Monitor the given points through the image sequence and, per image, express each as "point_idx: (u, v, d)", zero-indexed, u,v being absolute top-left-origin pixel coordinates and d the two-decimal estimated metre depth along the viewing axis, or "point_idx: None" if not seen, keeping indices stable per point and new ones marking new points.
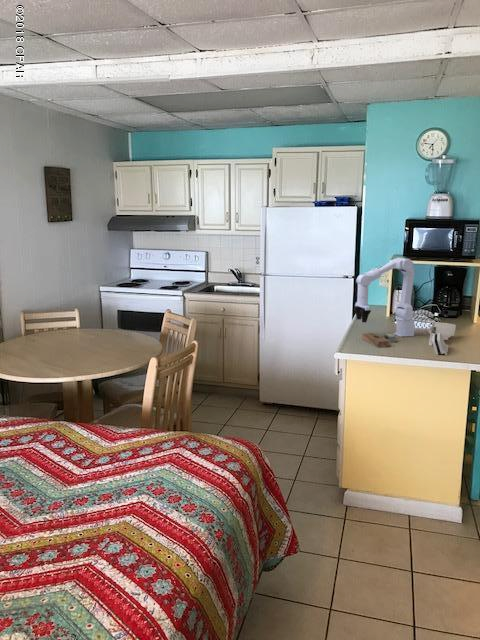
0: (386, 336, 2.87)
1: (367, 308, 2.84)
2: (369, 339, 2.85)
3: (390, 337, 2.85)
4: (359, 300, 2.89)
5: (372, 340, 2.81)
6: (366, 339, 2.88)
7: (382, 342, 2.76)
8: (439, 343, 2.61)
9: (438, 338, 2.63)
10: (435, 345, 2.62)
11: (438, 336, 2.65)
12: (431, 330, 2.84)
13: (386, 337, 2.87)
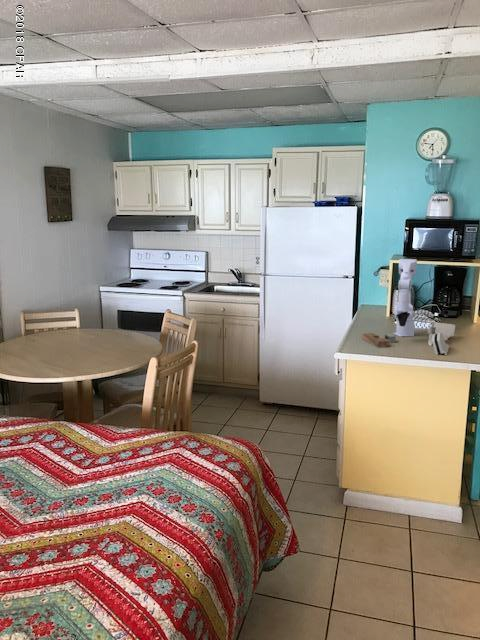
0: (386, 336, 2.87)
1: (395, 312, 2.81)
2: (369, 339, 2.85)
3: (390, 337, 2.85)
4: (398, 304, 2.86)
5: (372, 340, 2.81)
6: (366, 339, 2.88)
7: (382, 342, 2.76)
8: (439, 343, 2.62)
9: (438, 338, 2.63)
10: (435, 345, 2.63)
11: (438, 336, 2.65)
12: (430, 331, 2.84)
13: (386, 337, 2.87)
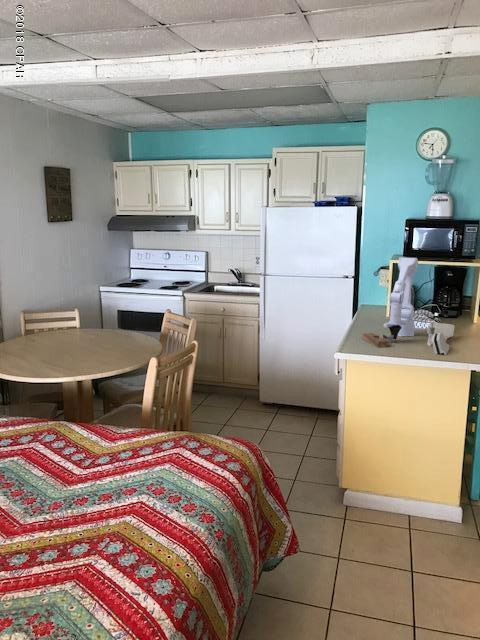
0: (384, 336, 2.87)
1: (384, 325, 2.83)
2: (369, 339, 2.85)
3: (388, 337, 2.85)
4: None
5: (372, 340, 2.81)
6: (366, 339, 2.88)
7: (382, 342, 2.76)
8: (438, 343, 2.62)
9: (438, 338, 2.64)
10: (434, 345, 2.63)
11: (438, 336, 2.65)
12: (430, 331, 2.83)
13: (384, 337, 2.87)
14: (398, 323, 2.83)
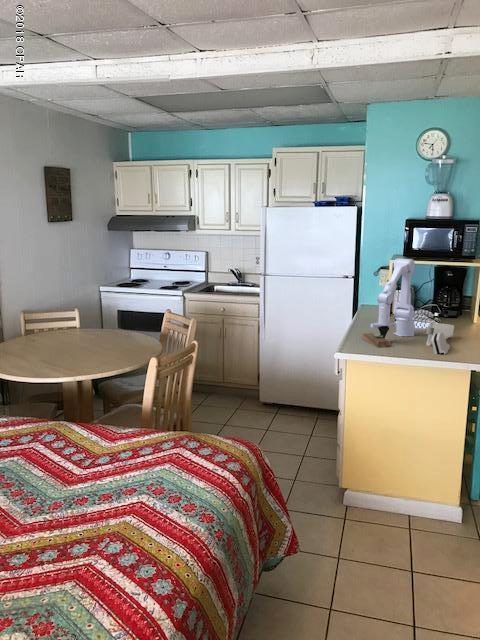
0: (373, 336, 2.85)
1: (371, 325, 2.82)
2: (369, 339, 2.85)
3: (377, 337, 2.84)
4: None
5: (372, 340, 2.81)
6: (366, 339, 2.88)
7: (382, 342, 2.76)
8: (438, 342, 2.63)
9: (437, 337, 2.64)
10: (434, 344, 2.64)
11: (438, 335, 2.66)
12: (429, 331, 2.83)
13: None
14: (385, 324, 2.81)
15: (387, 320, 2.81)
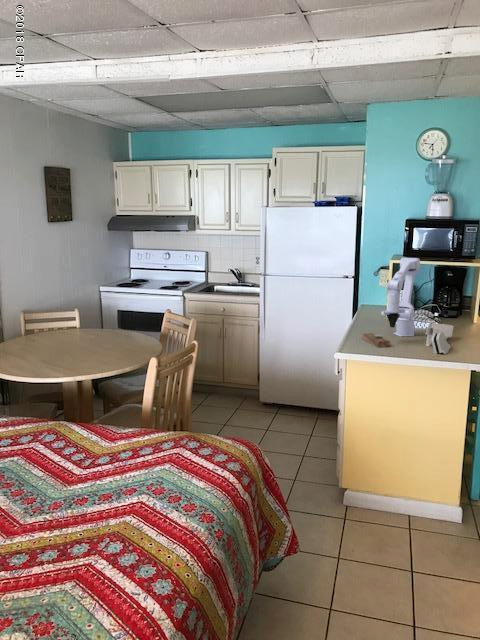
0: None
1: (382, 313, 2.81)
2: (369, 339, 2.85)
3: (377, 338, 2.84)
4: None
5: (372, 340, 2.81)
6: (366, 339, 2.88)
7: (382, 342, 2.76)
8: (438, 342, 2.63)
9: (437, 337, 2.64)
10: (434, 344, 2.64)
11: (438, 335, 2.66)
12: (428, 331, 2.82)
13: None
14: (396, 311, 2.81)
15: (397, 307, 2.81)
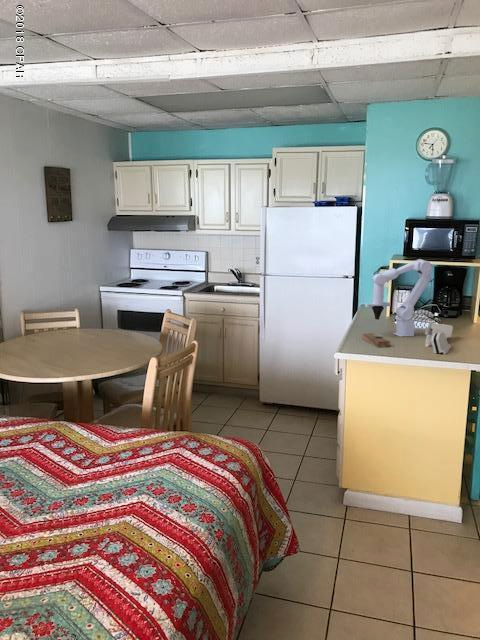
0: None
1: (366, 305, 2.96)
2: (369, 339, 2.85)
3: (377, 338, 2.84)
4: None
5: (372, 340, 2.81)
6: (366, 339, 2.88)
7: (382, 342, 2.76)
8: (437, 342, 2.63)
9: (437, 337, 2.65)
10: (434, 344, 2.65)
11: (438, 335, 2.66)
12: (428, 332, 2.82)
13: None
14: (379, 304, 2.95)
15: (381, 300, 2.95)
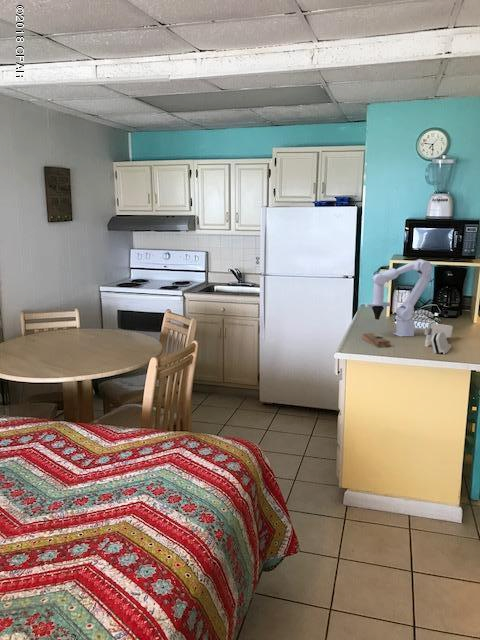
0: None
1: (366, 305, 2.96)
2: (369, 339, 2.85)
3: (377, 338, 2.84)
4: None
5: (372, 340, 2.81)
6: (366, 339, 2.88)
7: (382, 342, 2.76)
8: (437, 342, 2.64)
9: (437, 337, 2.65)
10: (433, 344, 2.65)
11: (438, 335, 2.67)
12: (427, 332, 2.81)
13: None
14: (379, 304, 2.95)
15: (381, 300, 2.95)
